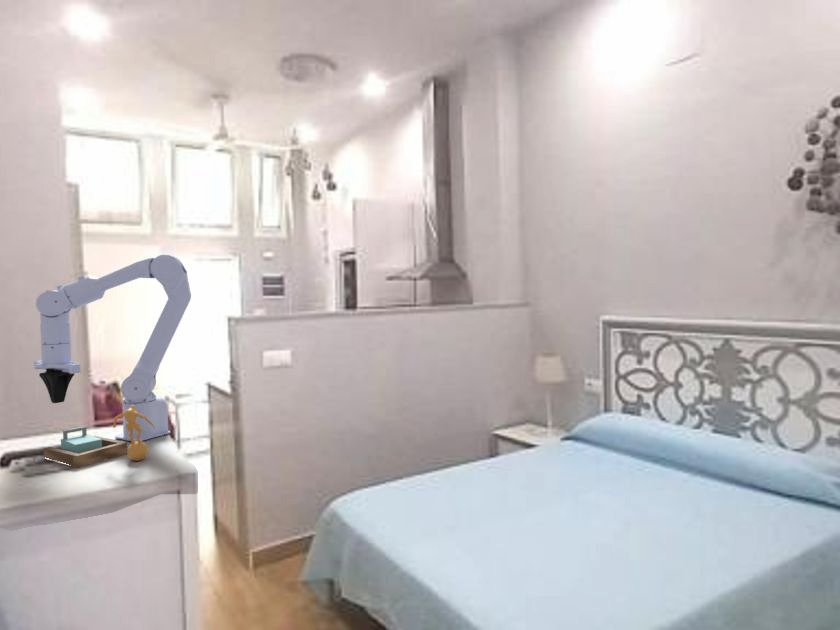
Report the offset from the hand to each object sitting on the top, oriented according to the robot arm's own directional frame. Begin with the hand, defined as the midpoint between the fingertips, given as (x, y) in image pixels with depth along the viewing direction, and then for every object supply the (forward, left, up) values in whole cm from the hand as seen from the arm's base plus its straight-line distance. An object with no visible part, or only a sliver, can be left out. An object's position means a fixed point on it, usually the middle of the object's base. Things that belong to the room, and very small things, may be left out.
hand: (58, 402), depth 132 cm
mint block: (+4, +15, -9) cm, 18 cm away
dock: (+4, +15, -9) cm, 18 cm away
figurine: (+1, +28, -10) cm, 30 cm away
